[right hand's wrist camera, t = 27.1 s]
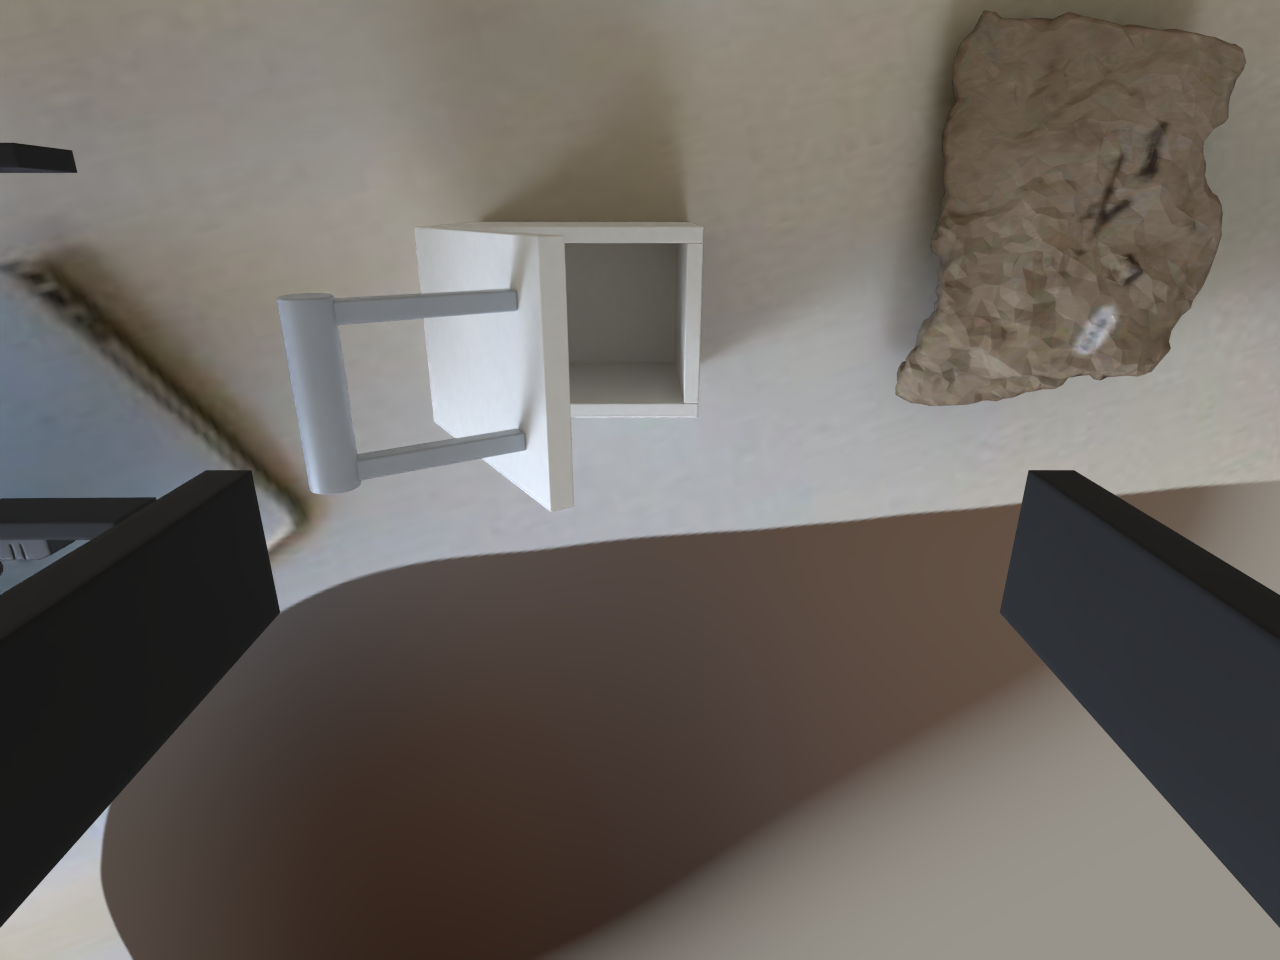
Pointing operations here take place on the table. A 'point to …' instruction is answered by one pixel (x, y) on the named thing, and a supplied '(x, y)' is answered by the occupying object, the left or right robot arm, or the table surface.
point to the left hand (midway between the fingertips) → (97, 352)
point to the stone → (1069, 204)
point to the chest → (629, 314)
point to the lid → (452, 364)
